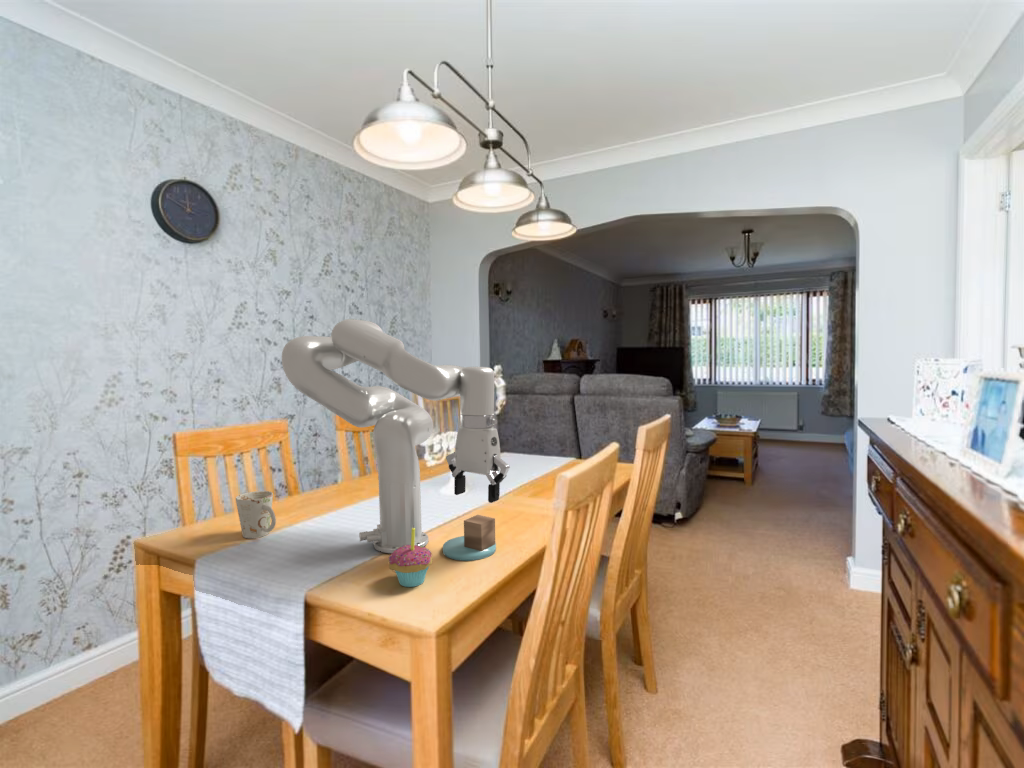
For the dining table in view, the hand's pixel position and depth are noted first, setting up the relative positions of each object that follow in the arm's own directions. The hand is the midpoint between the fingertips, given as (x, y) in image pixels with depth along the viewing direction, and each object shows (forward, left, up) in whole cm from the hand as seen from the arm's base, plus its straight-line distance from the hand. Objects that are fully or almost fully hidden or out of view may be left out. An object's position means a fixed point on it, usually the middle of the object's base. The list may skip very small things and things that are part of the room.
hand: (476, 497), depth 115 cm
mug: (-44, +34, -13) cm, 57 cm away
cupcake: (-17, -9, -13) cm, 23 cm away
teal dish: (-1, +1, -12) cm, 12 cm away
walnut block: (0, 0, -11) cm, 11 cm away
